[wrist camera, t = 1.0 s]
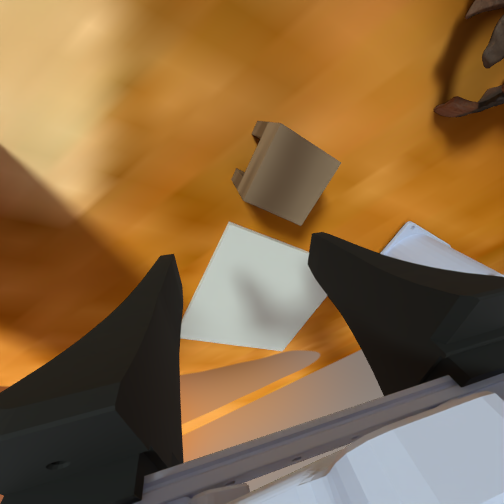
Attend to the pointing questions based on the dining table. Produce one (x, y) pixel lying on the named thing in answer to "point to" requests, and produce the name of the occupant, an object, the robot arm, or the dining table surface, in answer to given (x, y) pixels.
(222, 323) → the grey mat
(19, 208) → the dining table surface
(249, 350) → the dining table surface
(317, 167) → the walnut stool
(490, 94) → the pottery mug
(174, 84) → the dining table surface
